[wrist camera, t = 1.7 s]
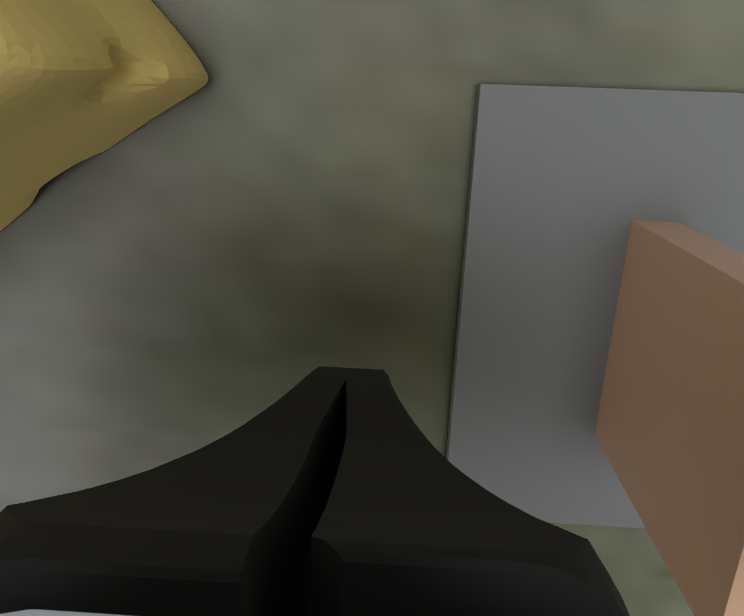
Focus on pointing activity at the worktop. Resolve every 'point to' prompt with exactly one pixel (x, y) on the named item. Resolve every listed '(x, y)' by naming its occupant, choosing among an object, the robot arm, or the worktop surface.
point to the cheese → (81, 84)
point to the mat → (570, 273)
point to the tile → (681, 406)
